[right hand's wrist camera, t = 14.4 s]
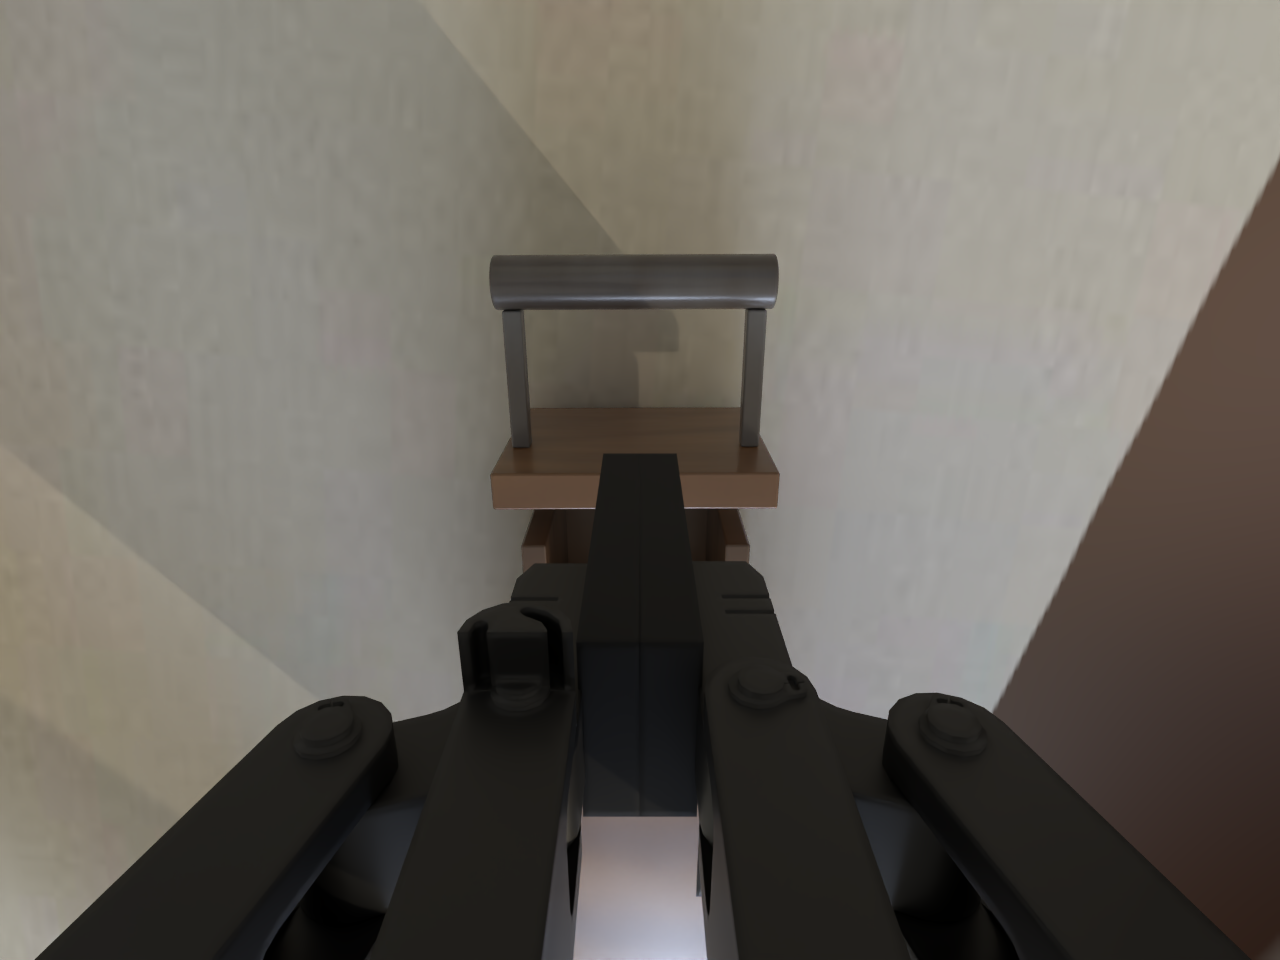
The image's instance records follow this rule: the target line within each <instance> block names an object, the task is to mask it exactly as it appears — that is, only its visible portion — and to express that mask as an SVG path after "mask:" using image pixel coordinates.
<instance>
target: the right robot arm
mask: <svg viewBox="0 0 1280 960" xmlns="http://www.w3.org/2000/svg"><path fill="white" fill-rule="evenodd" d="M457 634H458V642H459V651H460V660H461V669H462V677H463V686H464V693H463V696H462V699H461V701H460V702H459V703H457V704H455V705H453V706H451V707H449V708H447V709H444V710H441V711H438V712H435V713H432V714H428V715H424V716H420V717H416V718H411V719H407V720H402V721H398V722H392V716H391V713H390V712H389V711H388V709H387V708H386V707H385V706H384V705H383V704H382V703H381V702H379V701H376V700H373V699H371V698H368V697H365V696H340V697H335V698H331V699H326V700H321V701H318V702H316V703H314V704H311V705H309V706H307V707H304V708H302V709H300V710H298V711H296V712H295V713H293V714H292V715H290V716H289V717H288V718H286V719H285V720H284V721H282V722H281V723H280V724H278V725H277V726H276V727H275V728H274V729H273V730H272V731H271V732H270V733H269V734H268V735H267V736H266V737H265V738H264V739H263V740H262V741H260V742H259V743H258V744H257V745H256V746H255V747H254V748H253V749H252V750H251V751H250V752H249V753H248V754H247V755H246V756H245V757H244V758H243V759H242V760H241V761H240V762H239V763H238V764H237V765H236V766H235V767H234V768H233V769H232V770H230V771H229V772H228V773H227V774H226V775H225V776H224V777H223V778H222V779H221V780H220V781H219V782H218V783H217V784H216V785H215V786H214V787H213V788H212V789H211V790H210V791H209V792H208V793H207V794H206V795H205V796H204V797H203V798H201V799H200V800H199V801H198V802H197V803H196V804H195V805H194V806H193V807H192V808H191V809H190V810H189V811H188V812H187V813H186V814H185V815H184V816H183V817H182V818H181V819H180V820H179V821H178V822H177V823H176V824H175V825H174V826H172V827H171V828H170V829H169V830H168V831H167V832H166V833H165V834H164V835H163V836H162V837H161V838H160V839H159V840H158V841H157V842H156V843H155V844H154V845H153V846H152V847H151V848H150V849H149V850H148V851H147V852H146V853H145V854H143V855H142V856H141V857H140V858H139V859H138V860H137V861H136V862H135V863H134V864H133V865H132V866H131V867H130V868H129V869H128V870H127V871H126V872H125V873H124V874H123V875H122V876H121V877H120V878H119V879H118V880H117V881H116V882H115V883H113V884H112V885H111V886H110V887H109V888H108V889H107V890H106V891H105V892H104V893H103V894H102V895H101V896H100V897H99V898H98V899H97V900H96V901H95V902H94V903H93V904H92V905H91V906H90V907H89V908H88V909H87V910H86V911H84V912H83V913H82V914H81V915H80V916H79V917H78V918H77V919H76V920H75V921H74V922H73V923H72V924H71V925H70V926H69V927H68V928H67V929H66V930H65V931H64V932H63V933H62V934H61V935H60V936H59V937H58V938H57V939H55V940H54V941H53V942H52V943H51V944H50V945H49V946H48V947H47V948H46V949H45V950H44V951H43V952H42V953H41V954H40V955H39V956H38V957H37V958H36V959H35V960H573V955H574V943H575V931H576V920H577V908H578V896H579V884H580V873H581V861H582V838H581V817H582V806H583V817H697V803H698V813H699V838H698V862H697V885H696V897H702V907H703V919H704V930H705V942H706V954H707V960H1251V959H1250V958H1249V957H1248V956H1247V955H1246V954H1245V953H1244V952H1243V951H1242V950H1241V949H1240V948H1239V947H1238V946H1236V945H1235V944H1234V943H1233V942H1232V941H1231V940H1230V939H1229V938H1228V937H1227V936H1226V935H1225V934H1224V933H1223V932H1222V931H1221V930H1220V929H1219V928H1218V927H1217V926H1216V925H1215V924H1214V923H1212V922H1211V921H1210V920H1209V919H1208V918H1207V917H1206V916H1205V915H1204V914H1203V913H1202V912H1201V911H1200V910H1199V909H1198V908H1197V907H1196V906H1195V905H1194V904H1193V903H1192V902H1191V901H1190V900H1188V899H1187V898H1186V897H1185V896H1184V895H1183V894H1182V893H1181V892H1180V891H1179V890H1178V889H1177V888H1176V887H1175V886H1174V885H1173V884H1172V883H1171V882H1170V881H1169V880H1168V879H1167V878H1166V877H1165V876H1163V875H1162V874H1161V873H1160V872H1159V871H1158V870H1157V869H1156V868H1155V867H1154V866H1153V865H1152V864H1151V863H1150V862H1149V861H1148V860H1147V859H1146V858H1145V857H1144V856H1143V855H1142V854H1140V853H1139V852H1138V851H1137V850H1136V849H1135V848H1134V847H1133V846H1132V845H1131V844H1130V843H1129V842H1128V841H1127V840H1126V839H1125V838H1124V837H1123V836H1122V835H1121V834H1120V833H1119V832H1118V831H1116V830H1115V829H1114V828H1113V827H1112V826H1111V825H1110V824H1109V823H1108V822H1107V821H1106V820H1105V819H1104V818H1103V817H1102V816H1101V815H1100V814H1099V813H1098V812H1097V811H1096V810H1095V809H1094V808H1093V807H1091V806H1090V805H1089V804H1088V803H1087V802H1086V801H1085V800H1084V799H1083V798H1082V797H1081V796H1080V795H1079V794H1078V793H1077V792H1076V791H1075V790H1074V789H1073V788H1072V787H1071V786H1070V785H1069V784H1067V783H1066V782H1065V781H1064V780H1063V779H1062V778H1061V777H1060V776H1059V775H1058V774H1057V773H1056V772H1055V771H1054V770H1053V769H1052V768H1051V767H1050V766H1049V765H1048V764H1047V763H1046V762H1045V761H1043V760H1042V759H1041V758H1040V757H1039V756H1038V755H1037V754H1036V753H1035V752H1034V751H1033V750H1032V749H1031V748H1030V747H1029V746H1028V745H1027V744H1026V743H1025V742H1024V741H1023V740H1022V739H1021V738H1020V737H1018V736H1017V735H1016V734H1015V733H1014V732H1013V731H1012V730H1011V729H1010V728H1009V727H1008V726H1007V725H1006V724H1005V723H1004V722H1003V721H1001V720H1000V719H999V718H997V717H996V716H994V715H993V714H992V713H990V712H989V711H988V710H986V709H985V708H983V707H981V706H979V705H976V704H974V703H972V702H970V701H967V700H965V699H963V698H960V697H955V696H950V695H945V694H941V693H915V694H913V695H910V696H907V697H904V698H902V699H899V700H898V701H897V702H896V703H895V705H894V706H893V707H892V708H891V709H890V710H889V716H888V720H886V719H882V718H878V717H873V716H869V715H864V714H860V713H855V712H852V711H848V710H845V709H842V708H838V707H835V706H833V705H831V704H829V703H827V702H825V701H823V700H821V699H819V698H818V695H817V692H816V690H815V688H814V687H813V685H812V684H811V682H810V681H809V679H808V678H807V677H806V676H805V675H804V674H802V673H801V672H799V671H798V670H797V669H795V668H794V667H792V664H791V661H790V658H789V654H788V651H787V648H786V645H785V642H784V639H783V636H782V633H781V630H780V627H779V624H778V621H777V618H776V615H775V614H774V608H773V605H772V602H771V599H770V598H769V593H768V590H767V587H766V584H765V581H764V578H763V576H762V575H761V574H760V573H758V572H757V571H756V570H755V569H754V568H753V567H752V566H751V565H749V564H748V563H747V562H746V561H692V556H691V549H690V542H689V535H688V528H687V522H686V515H685V508H684V501H683V494H682V487H681V480H680V473H679V466H678V459H677V453H603V459H602V466H601V473H600V480H599V487H598V494H597V501H596V508H595V515H594V522H593V528H592V535H591V542H590V549H589V556H588V563H534V564H533V565H532V566H531V567H530V568H529V569H528V570H526V571H525V572H524V573H523V574H522V575H521V576H520V577H519V578H518V579H517V580H516V584H515V587H514V590H513V593H512V596H511V601H510V602H509V603H504V604H500V605H497V606H494V607H491V608H488V609H484V610H482V611H480V612H479V613H477V614H476V615H474V616H472V617H471V618H469V619H468V620H466V622H465V623H464V624H463V626H462V627H461V628H460V630H459V631H458V632H457Z"/></svg>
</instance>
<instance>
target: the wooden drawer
mask: <svg viewBox="0 0 1280 960" xmlns="http://www.w3.org/2000/svg"><path fill="white" fill-rule="evenodd" d="M489 279H490V292H491V298H492V302H493V305H494V307H495V309H497V310H504V311H503V312H502V319H503V332H504V345H505V358H506V371H507V384H508V397H509V410H510V423H511V438H510V440H509V442H508V443H507V445H506V447H505V449H504V451H503V453H502V454H501V456H500V458H499V460H498V462H497V464H496V465H495V467H494V469H493V471H492V473H491V475H490V477H491V488H492V499H493V508H494V509H534V511H533V514H532V517H531V520H530V523H529V526H528V529H527V532H526V534H525V537H524V540H523V543H522V546H521V550H522V563H523V573H524V572H525V571H526V570H528V569H529V568H530V567H531V566H532V565H533V564H534V563H588V556H589V549H590V542H591V535H592V528H593V522H594V515H595V508H596V501H597V494H598V487H599V480H600V473H601V466H602V459H603V453H677V459H678V466H679V473H680V480H681V487H682V494H683V501H684V508H685V515H686V522H687V528H688V535H689V542H690V549H691V556H692V561H746V562H747V563H748V564H749V552H750V545H749V542H748V539H747V535H746V532H745V529H744V526H743V523H742V520H741V516H740V513H739V510H738V508H776V507H777V503H778V489H779V476H780V474H779V472H778V470H777V468H776V466H775V464H774V462H773V460H772V458H771V456H770V454H769V452H768V450H767V448H766V446H765V444H764V442H763V440H762V438H761V436H760V434H759V431H760V415H761V399H762V382H763V366H764V350H765V333H766V317H767V311H766V310H765V309H771V308H773V307H774V305H775V303H776V299H777V293H778V281H779V269H778V260H777V257H776V255H775V254H671V255H494V256H492V258H491V262H490V271H489ZM592 309H746V310H745V328H744V348H743V368H742V388H741V407H740V408H530V400H529V385H528V370H527V354H526V339H525V323H524V311H523V310H592Z"/></svg>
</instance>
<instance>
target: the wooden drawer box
mask: <svg viewBox="0 0 1280 960" xmlns="http://www.w3.org/2000/svg"><path fill="white" fill-rule="evenodd" d="M581 838H582V861H581V873H580V884H579V896H578V908H577V920H576V931H575V943H574V955H573V960H707V954H706V942H705V930H704V919H703V907H702V897H696V885H697V862H698V838H699V813H698V803H697V817H583V806H582V817H581Z"/></svg>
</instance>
